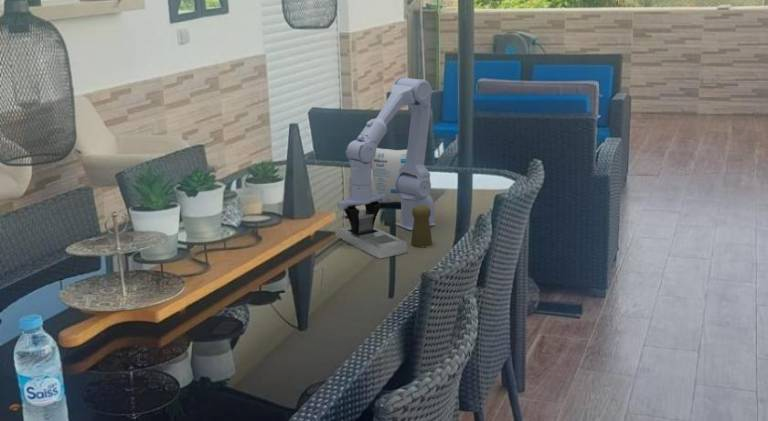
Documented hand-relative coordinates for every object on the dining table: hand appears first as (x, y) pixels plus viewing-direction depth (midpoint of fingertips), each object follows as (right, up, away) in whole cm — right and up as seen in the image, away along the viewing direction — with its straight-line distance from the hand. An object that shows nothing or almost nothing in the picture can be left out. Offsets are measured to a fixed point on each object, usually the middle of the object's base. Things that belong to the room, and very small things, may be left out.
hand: (362, 229), depth 258 cm
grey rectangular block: (0, -2, +1) cm, 2 cm away
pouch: (+10, +7, +36) cm, 38 cm away
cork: (+17, -4, -3) cm, 17 cm away
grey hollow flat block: (+3, -4, -3) cm, 6 cm away
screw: (-4, +3, +25) cm, 25 cm away
